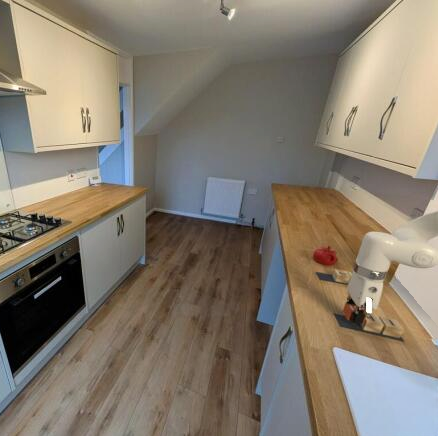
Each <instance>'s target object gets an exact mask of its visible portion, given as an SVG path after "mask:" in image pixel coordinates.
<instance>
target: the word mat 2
mask: <svg viewBox="0 0 438 436" xmlns="http://www.w3.org/2000/svg"><path fill="white" fill-rule="evenodd" d="M332 313H333V316H334V317H335V320H336V322H337V325H338V327H340V328H342V329H347V330H352V331H356V332H360V333H363V334H368V335H373V336H377V337H381V338H386V339H389V340H393V341H398V342H402V343H406V341H405V340H404V338H403V337H402V336H401V337H400V338H396V337H392V336H388V335H384V334H382V333H381V332H380V333H375V332H371V331H367V330H363V328H362V327H361V325H360V324H358V323H353V322H350V320H347V319H346V317H345V315H344V314H341V313H337V312H336V313H335V312H332Z"/></svg>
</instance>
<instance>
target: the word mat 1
mask: <svg viewBox="0 0 438 436" xmlns="http://www.w3.org/2000/svg"><path fill="white" fill-rule="evenodd" d="M315 274H316V276H317V278H318V280H319V281H323V282H328V283H333V284H338V285H345V286H348V284H347V283H342V282H336V281H335V280H334V278H333V276H332V275H333V274H330V273H324V272H320V271H315Z"/></svg>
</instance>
